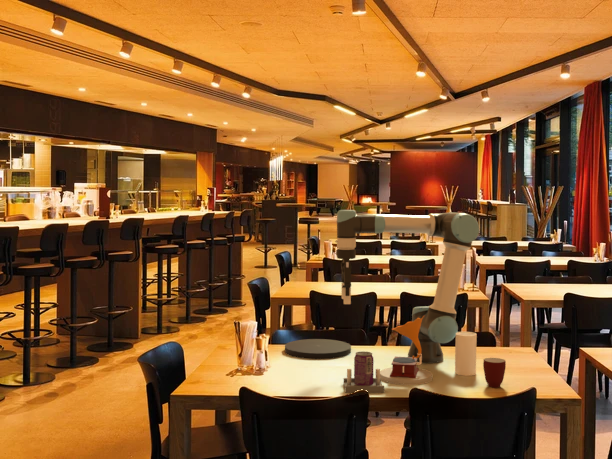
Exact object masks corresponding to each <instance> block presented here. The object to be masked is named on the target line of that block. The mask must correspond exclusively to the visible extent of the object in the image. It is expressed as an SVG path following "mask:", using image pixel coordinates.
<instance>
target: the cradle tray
mask: <svg viewBox="0 0 612 459" xmlns="http://www.w3.org/2000/svg"><path fill="white" fill-rule="evenodd" d="M346 371H347V372H346V377H344V378H343V388H344V391H345V393H346V394H352V392H355V391H357V390H361V389H363V390H367V391H368V392H369V393H368V394H373V393H374V394H377V393H378V394H379V393H382V394H385V385H384V384H383V383H382V379H381V378H380V371H381V369H380V368H376V369H375V377H373V384H372V385H370V386H357V385H356V384H354V377H352V368H347V370H346Z"/></svg>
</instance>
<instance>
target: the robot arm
mask: <svg viewBox="0 0 612 459" xmlns="http://www.w3.org/2000/svg"><path fill="white" fill-rule="evenodd" d="M382 233H396V234H397V233H399V234H400V233H401V234H402V233H405V234H426V235H427V236H428V237H437V238H442V239H443V240H442V244H443V245H444V247H445V248H444V252H443V257H442V261H441V267H440V271H439V276H438V280H437V286H436V290H435V295H434V299H433V302H432V304H431V305H428V306H426V305H425V306H415V307H413V308H412V314H411V316H412V317H411V318H412V319H411V322H413V321H415V320H416V319H417V318H420V319H421V318H422V317H423V316H424V317H423V319H422V322H421V327H420V330H419V334H418V339H419V342H420V345H421V354H422V363H421V364H423V363H424V364H435V363H440V362H442V361H444V353H443V350H442V347H441V344H447V343H450V342H451V341H453V340H454V338H456V333H457V332H459V331H458V330H459V326H458V323H457V321H456V318H457V311H456V309H455V306H456V300H457V296H458V290H459V285H460V282H461V277H462V273H463V267H464V262H465V260H466V259H465V258H466V253H467V252H468V251H469V250H470V249H471V248H472V245H473V242H474V241H475V240H476V239H477V238H478V236H479V233H480V226H479V223H478V220H477V219H476V218H475V217H474V215H471V214H468V213H465V212H452V211H451V212H442V213H441V212H440V213H429V214H428V215H416V214H415V215H412V214H409V215H408V214H385V213H361V212H357V211H356V210H354V209H340V210H338V211H337V215H336V240H335V241H334V242H335V243H336V248H337V249H336V258H337V259H339V260H340V259H341V262H340V267H341V268H340V270H341V279H340V280H341V299H342V300H343V305H351V304H352V301H351V298H352V296H351V295H352V294H351V293H352V288H351V287H352V275H351V274H352V262H351V261H350V260H354V259H356V257H357V256H356V252H357V251H356V249H355V248H356V247H357V243H356V242H357V234H382ZM407 352H408V354H407V357H413V356H414V357H417V356H418V349H417V347H416V346H415V344H414V343H413V342H412V341H411V344H410V347H409V350H408V351H407ZM420 356H421V355H420ZM419 358H420V357H418V358H417V361H416V362H420V360H419Z"/></svg>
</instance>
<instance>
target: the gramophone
mask: <svg viewBox="0 0 612 459" xmlns="http://www.w3.org/2000/svg"><path fill="white" fill-rule="evenodd" d="M423 317H424V316H423ZM423 317H422V318H421V319H420V318H417V319H416V320H415V321H413V322H412V321H407V322H406V323H405V324H403V325H398V326H396V327H393V328H391V330H392V331H394V332H396V333H398V334H400V335H401V336H403V337H406V338H407V339H409V340H411V343H412V342H413V343H414V344H415V346H416V347H417V349H418V356H417V357H414V356H413V357H408V356H394V358H393V359H392V362H391V364H390V365H392V367H386V368H384V369H382V370H381V369H380V378H381V381H383V382H385V383H389V382H390V384H395V385H408V386H409V385H421V384H427V383H430V382H432V380H433V373H432V372H431V371H430V370H427V369H424V368H420V367H418V366H420V365H421V364H423V363H422V354H421V345H420V342H419V339H418V334H419V330H420V327H421V322H422V319H423ZM420 355H421V356H420ZM418 357H420V358H419V360H420V362H416V361H417V358H418ZM417 365H418V366H417Z"/></svg>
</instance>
